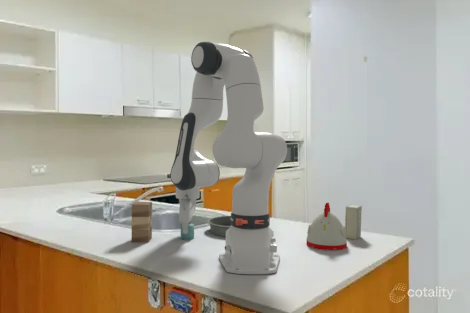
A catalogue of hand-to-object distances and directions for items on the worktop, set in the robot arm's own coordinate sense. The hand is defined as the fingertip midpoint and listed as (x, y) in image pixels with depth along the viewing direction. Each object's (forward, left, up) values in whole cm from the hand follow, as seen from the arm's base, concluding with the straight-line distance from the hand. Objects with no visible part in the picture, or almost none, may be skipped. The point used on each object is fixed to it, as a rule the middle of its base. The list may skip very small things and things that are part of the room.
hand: (187, 230), depth 151 cm
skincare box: (+3, -63, -3) cm, 63 cm away
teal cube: (-1, 0, -3) cm, 3 cm away
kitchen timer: (-9, -50, -3) cm, 51 cm away
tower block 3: (-5, +16, -3) cm, 17 cm away
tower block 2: (-5, +16, +2) cm, 17 cm away
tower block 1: (-5, +16, +6) cm, 18 cm away
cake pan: (+13, -19, -3) cm, 23 cm away
